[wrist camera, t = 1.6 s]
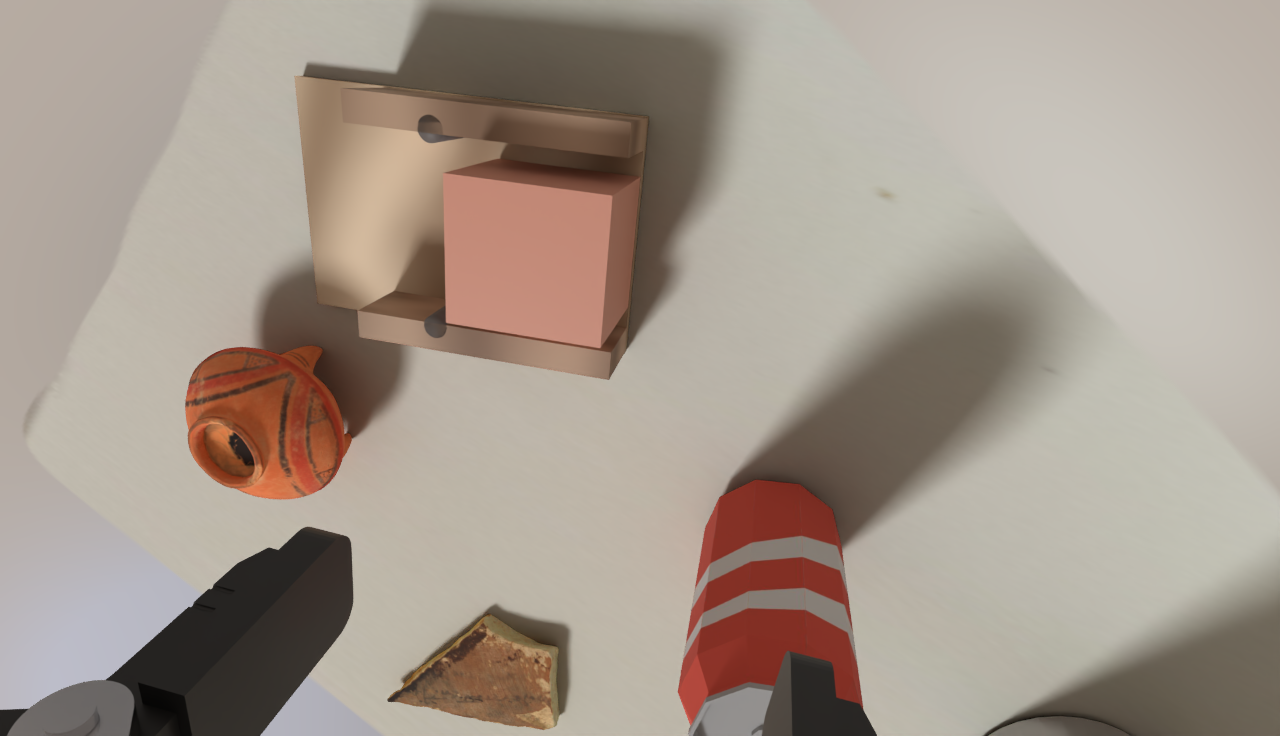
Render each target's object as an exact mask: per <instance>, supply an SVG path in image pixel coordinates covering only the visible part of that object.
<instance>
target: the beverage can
mask: <svg viewBox="0 0 1280 736" xmlns="http://www.w3.org/2000/svg"><path fill="white" fill-rule="evenodd" d="M787 651H791V652H795V653H799V654H803V655H807V656H811V657H815V658H819V659H823V660H826V661H830V662H831V663H832V665H833V669H834V678H835V688H836V698H840V699H844V700H848V701H852V702H855V703H859V704H860V705H861V707H862V709H863V704H862V696H861V689H860V681H859V674H858V666H857V659H856V652H855V644H854V637H853V629H852V622H851V614H850V607H849V599H848V592H847V584H846V577H845V570H844V562H843V555H842V547H841V542H840V538H839V534H838V530H837V526H836V522H835V518H834V514H833V510H832V509H831V508H830V507H829V506H827V505H826V504H825V503H823V502H822V501H821V500H819V499H818V498H817V497H815V496H814V495H813V494H812V493H810V492H809V491H808V490H806V489H805V488H804V487H802V486H801V485H800V484H793V483H783V482H774V481H764V480H754V481H752V482H750V483H748V484H746V485H744V486H741V487H739V488H737V489H735V490H733V491H731V492H729V493H727V494H725V495H723V496H721V497H720V498H719V500H718V502H717V504H716V506H715V508H714V510H713V513H712V515H711V517H710V519H709V521H708V523H707V525H706V528H705V532H704V538H703V544H702V550H701V556H700V562H699V568H698V574H697V580H696V586H695V592H694V598H693V604H692V610H691V616H690V622H689V628H688V634H687V640H686V646H685V652H684V658H683V664H682V670H681V676H680V682H679V688H678V693H679V696H680V699H681V701H682V704H683V707H684V709H685V712H686V715H687V717H688V720H689V723H690V725H691V726H690V728H689V733H688V734H689V736H762V730H763V724H764V719H765V715H766V711H767V708H768V705H769V702H770V698H771V695H772V692H773V689H774V686H775V683H776V680H777V677H778V674H779V671H780V667H781V664H782V661H783V658H784V656H785V653H786V652H787Z"/></svg>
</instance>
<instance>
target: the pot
mask: <svg viewBox="0 0 1280 736" xmlns="http://www.w3.org/2000/svg"><path fill="white" fill-rule="evenodd" d="M322 352H323V350H322V349H321V348H320V347H317V346H303V347H299V348H296V349H293V350H291V351H288V352H285V353H283V354H279V355H278V354H276V353H273V352H270V351H266V350H262V349H256V348H247V347H236V348H229V349H224V350H221V351H218V352H216V353H214V354H212V355H211V356H209V357H208V358H207V359H205V360H204V361H203V362H202V363H201V364H199V366H198V367H197V368H196V369H195V370H194V372H193V374H192V377H191V379H190V382H189V383H190V384H189V387H188V390H187V396H186V404H185V408H186V420H187V425H188V429H189V432H188V444H189V448H190V451H191V453H192V456H193V458H194V459H195V461H196V462H197V463H198V465H199V466H200V467H201V468H202V469H203V470H204V471H205V472H206V473H207V474H208V475H209V476H210V477H211V478H212V479H214V480H215V481H217V482H218V483H220V484H222V485H224V486H226V487H230V488H235V489H238V490H240V491H242V492H244V493H247V494H250V495H253V496H257V497H262V498H269V499H294V498H300V497H304V496H307V495H310V494H312V493H314V492H316V491H318V490H321V489H322V488H324V487H325V486H326V485H327V484H328V483H329V482H330V481H331V480H332V479H333V478H334V476H335V475H336V473H337V471H338V469H339V467H340V465H341V462H342V458H343V457H344V456H345V454H346V452H347V450H348V448H349V446H350V444H351V441H352V438H351V435H350V434H349V433H346V434H344V425H343V421H342V417H341V413H340V410H339V407H338V405H337V402H336V400H335V398H334V396H333V395H332V393H331V392H330V391H329V389H328V388H327V387H326V385H325V384H324V383H323V382H321V381H320V380H319V379H318V378H317V377H316V376H314V374H313V370H314V366H315V364H316V362H317V360H318V359H319V357H320V356H321V354H322Z"/></svg>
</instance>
